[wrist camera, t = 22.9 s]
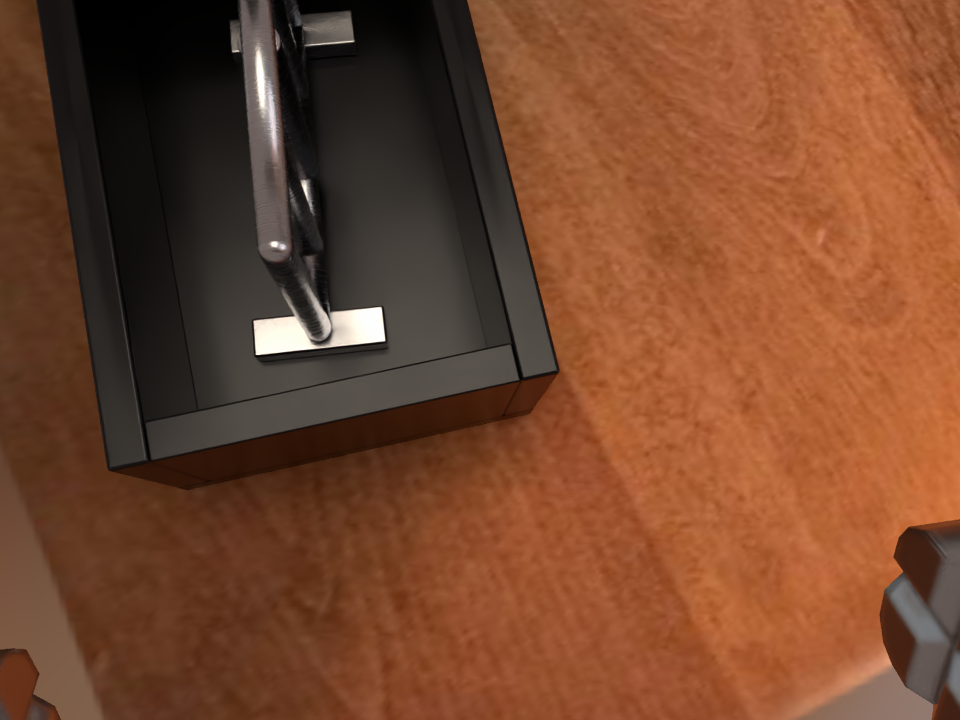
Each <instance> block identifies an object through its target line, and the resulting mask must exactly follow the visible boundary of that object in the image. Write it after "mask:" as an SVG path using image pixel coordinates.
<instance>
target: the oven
mask: <svg viewBox="0 0 960 720" xmlns="http://www.w3.org/2000/svg"><path fill="white" fill-rule="evenodd" d="M36 2H37V9H38V15H39V22H40V29H41V35H42V42H43V48H44V55H45V61H46V68H47V75H48V81H49V88H50V94H51V101H52V107H53V114H54V121H55V127H56V134H57V140H58V147H59V153H60V160H61V167H62V173H63V180H64V186H65V193H66V199H67V206H68V213H69V219H70V226H71V232H72V239H73V245H74V252H75V259H76V265H77V272H78V278H79V285H80V291H81V298H82V305H83V311H84V318H85V324H86V331H87V337H88V344H89V351H90V357H91V364H92V370H93V377H94V383H95V390H96V397H97V403H98V410H99V416H100V423H101V429H102V436H103V443H104V449H105V456H106V462H107V468H108V470H109V471H112V472H116V473H120V474H124V475H128V476H132V477H136V478H141V479H145V480H149V481H153V482H157V483H161V484H165V485H169V486H173V487H178V488H181V489H185V490H190V489H194V488H199V487H203V486H208V485H212V484H217V483H221V482H226V481H230V480H235V479H239V478H244V477H248V476H253V475H257V474H262V473H266V472H271V471H275V470H280V469H284V468H289V467H293V466H298V465H302V464H307V463H311V462H316V461H320V460H325V459H329V458H334V457H338V456H343V455H347V454H352V453H356V452H361V451H365V450H370V449H374V448H379V447H383V446H388V445H392V444H397V443H401V442H406V441H410V440H415V439H419V438H424V437H428V436H432V435H437V434H441V433H446V432H450V431H455V430H459V429H464V428H468V427H473V426H477V425H482V424H486V423H491V422H495V421H500V420H504V419H509V418H513V417H518V416H522V415H527V414H530V413H531V412H532V410H533V409H534V407H535V406H536V404H537V403H538V401H539V400H540V399H541V397H542V396H543V394H544V393H545V392H546V390H547V389H548V387H549V386H550V385H551V383H552V382H553V380H554V379H555V377H556V376H557V375H558V373H559V370H560V369H559V365H558V361H557V357H556V353H555V349H554V345H553V341H552V337H551V333H550V329H549V325H548V321H547V317H546V313H545V309H544V305H543V301H542V297H541V293H540V289H539V285H538V281H537V277H536V273H535V269H534V265H533V261H532V257H531V253H530V249H529V245H528V241H527V237H526V233H525V229H524V225H523V221H522V217H521V213H520V210H519V206H518V202H517V198H516V194H515V190H514V186H513V182H512V178H511V174H510V170H509V166H508V162H507V158H506V154H505V150H504V146H503V142H502V138H501V134H500V130H499V126H498V122H497V118H496V114H495V110H494V106H493V102H492V98H491V94H490V90H489V86H488V82H487V78H486V74H485V70H484V66H483V62H482V58H481V54H480V50H479V46H478V42H477V38H476V34H475V30H474V26H473V22H472V18H471V14H470V10H469V6H468V2H467V0H297V2H298V6H299V10H300V14H307V13H320V12H332V11H344V10H352V12H353V18H354V26H355V35H356V45H357V54H356V55H346V56H334V57H323V58H311V59H306V64H307V75H308V85H309V96H310V107H311V117H312V128H313V139H314V149H315V154H316V158H317V161H318V164H319V174H318V176H317V181H318V192H319V202H320V213H321V224H322V234H323V245H324V256H325V266H326V277H327V287H328V298H329V309H330V311H333V310H343V309H352V308H362V307H371V306H383V307H384V311H385V318H386V327H387V337H388V347H387V348H382V349H373V350H364V351H355V352H346V353H337V354H328V355H318V356H309V357H300V358H291V359H282V360H273V361H263V362H260V361H258V360H257V359H256V357H255V356H254V348H253V335H252V320H253V319H258V318H267V317H277V316H286V315H294V314H293V312H292V310H291V308H290V307H289V305H288V303H287V302H286V300H285V298H284V297H283V295H282V293H281V292H280V290H279V288H278V287H277V285H276V283H275V281H274V280H273V278H272V276H271V275H270V273H269V271H268V270H267V268H266V266H265V265H264V263H263V261H262V260H261V258H260V256H259V254H258V250H257V241H256V228H255V216H254V203H253V190H252V178H251V165H250V153H249V140H248V127H247V115H246V102H245V89H244V77H243V64H241V65H236V64H235V61H234V59H233V57H232V54H231V49H230V36H229V23H228V22H229V20H234V19H239V14H238V1H237V0H36Z"/></svg>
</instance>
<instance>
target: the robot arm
mask: <svg viewBox="0 0 960 720" xmlns="http://www.w3.org/2000/svg"><path fill="white" fill-rule="evenodd" d="M893 557H894V559H895V560H896V561H897V563H898V564H899V566H900V567H901V569H902V570H903V571H904V572H903V573H902V574H901V575H900V576H899V577H898V578H897V579H896V580H895V581H893V582H892V583H891V584H890V585H889V586H888V587H887V588H886V589H885V591H884V595H883V600H882V605H881V610H880V622H881V629H882V636H883V643H884V645H885V648H886V650H887V653H888V656H889V658H890V661H891V663H892V665H893V667H894V669H895V670H896V672H897V673H898V675H899V677H900V678H901V680H902V682H903V683H904V685H905V687H907V688H908V689H910V690H911V691H913V692H915V693H916V694H918V695H919V696H921V697H922V698H924V699H926V700H927V701H929V702H931V703H932V704H934V706H933V713H932V720H960V519H959V520H952V521H945V522H938V523H932V524H925V525H918V526H911V527H908V528H907V529H906V530H905V531H904V533H903V534H902V535H901V536H900V537H899V539H898V542H897V546H896V549H895V553H894V556H893ZM38 677H39V672H38V670H37V668H36V667H35V665H34V663H33V661H32V659H31V657H30V655H29V654H28V652H27V650H25V649H14V648H13V649H4V650H0V720H61V719H60V716H59V714H58V712H57V710H56V708H55V706H54V705H52V704H50V703H48V702H46V701H45V700H43V699H41V698H39V697H37V696H35V695H34V694H33V692H34V689H35V685H36V683H37V680H38Z"/></svg>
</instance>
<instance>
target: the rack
mask: <svg viewBox="0 0 960 720" xmlns="http://www.w3.org/2000/svg"><path fill="white" fill-rule="evenodd" d="M237 1H238V14H239V19H234V20H229V22H228V23H229V36H230V49H231V54H232V57H233V59H234V61H235V64H236V65H241V64H243V77H244V89H245V102H246V115H247V127H248V140H249V153H250V165H251V178H252V190H253V203H254V216H255V228H256V241H257V250H258V254H259V256H260V258H261V260H262V261H263V263H264V265H265V266H266V268H267V270H268V271H269V273H270V275H271V276H272V278H273V280H274V281H275V283H276V285H277V287H278V288H279V290H280V292H281V293H282V295H283V297H284V298H285V300H286V302H287V303H288V305H289V307H290V308H291V310H292V312H293V314H294V315H286V316H277V317H267V318H258V319H253V320H252V335H253V348H254V356H255V357H256V359H257V360H258V361H260V362H263V361H273V360H282V359H291V358H300V357H309V356H318V355H328V354H337V353H346V352H355V351H364V350H373V349H382V348H387V347H388V337H387V327H386V318H385V311H384V307H383V306H371V307H362V308H352V309H343V310H333V311H330V309H329V298H328V287H327V277H326V266H325V256H324V245H323V234H322V224H321V213H320V202H319V192H318V181H317V176H318V174H319V164H318V161H317V158H316V154H315V149H314V139H313V128H312V117H311V107H310V96H309V85H308V75H307V64H306V59H311V58H323V57H334V56H346V55H356V54H357V45H356V35H355V26H354V18H353V12H352V10H344V11H332V12H320V13H307V14H300V10H299V6H298V2H297V0H237Z"/></svg>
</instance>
